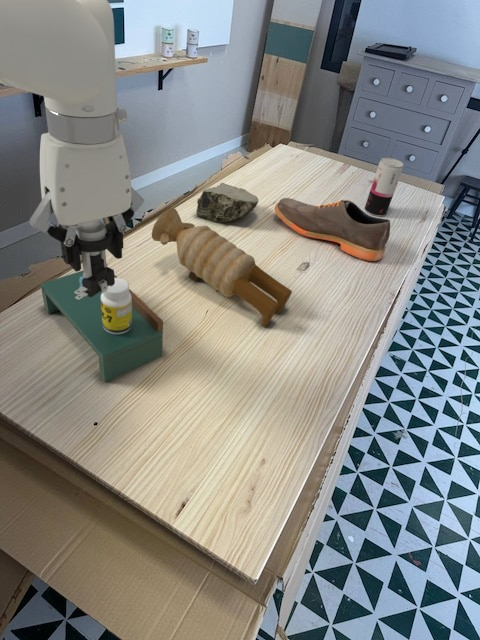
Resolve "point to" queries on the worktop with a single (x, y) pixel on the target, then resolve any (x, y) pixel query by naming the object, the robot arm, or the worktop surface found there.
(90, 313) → the shelf
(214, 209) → the concrete fragment
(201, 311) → the worktop surface
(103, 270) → the push button
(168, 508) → the worktop surface
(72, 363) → the worktop surface
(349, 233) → the oxford shoe
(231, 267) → the toy animal figurine
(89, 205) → the robot arm
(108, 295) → the supplement bottle
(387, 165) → the beverage can
